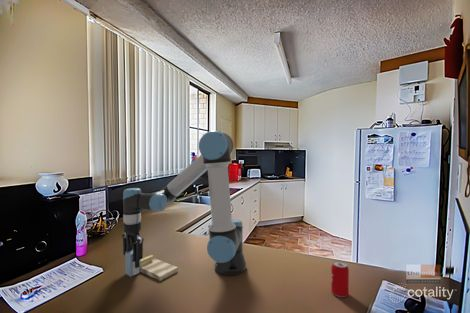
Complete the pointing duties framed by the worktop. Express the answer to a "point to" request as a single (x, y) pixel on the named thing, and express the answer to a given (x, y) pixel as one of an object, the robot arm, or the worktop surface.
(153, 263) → the board
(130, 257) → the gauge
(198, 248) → the worktop surface
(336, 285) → the beverage can
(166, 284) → the worktop surface
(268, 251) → the worktop surface
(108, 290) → the worktop surface
